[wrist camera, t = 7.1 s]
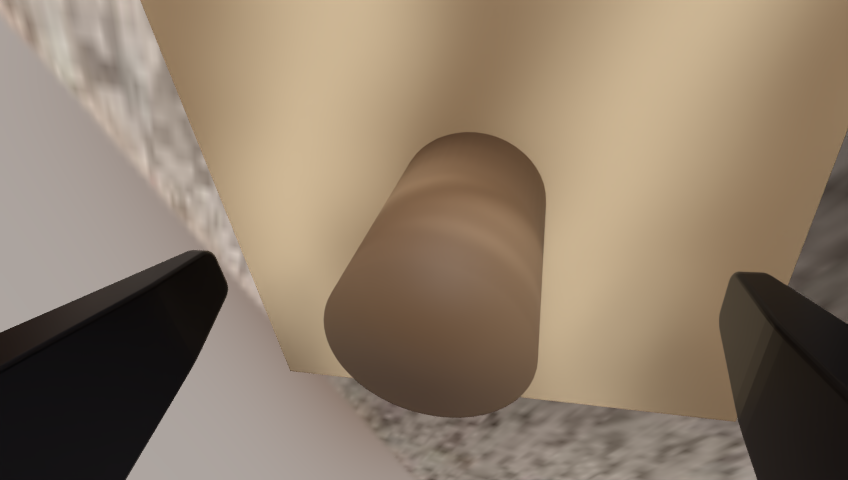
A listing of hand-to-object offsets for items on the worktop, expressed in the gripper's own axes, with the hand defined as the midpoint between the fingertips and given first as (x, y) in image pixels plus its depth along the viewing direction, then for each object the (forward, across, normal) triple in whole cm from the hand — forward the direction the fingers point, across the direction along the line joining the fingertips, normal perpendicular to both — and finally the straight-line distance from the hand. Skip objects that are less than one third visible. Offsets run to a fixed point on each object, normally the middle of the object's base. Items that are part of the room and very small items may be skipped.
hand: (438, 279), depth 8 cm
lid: (+4, 0, 0) cm, 4 cm away
